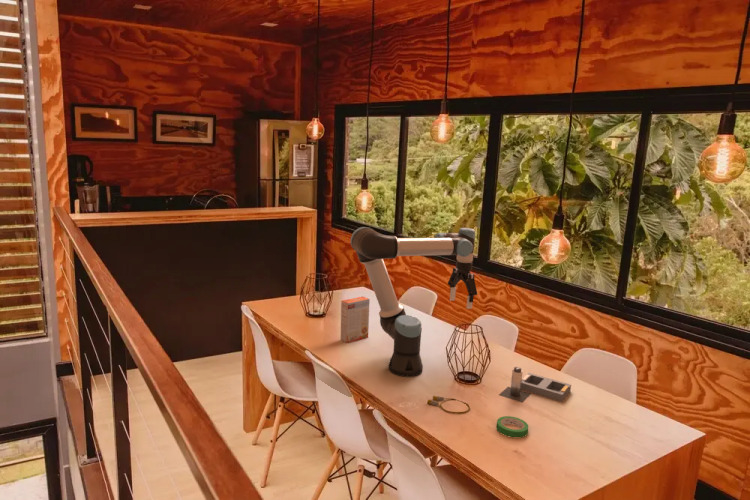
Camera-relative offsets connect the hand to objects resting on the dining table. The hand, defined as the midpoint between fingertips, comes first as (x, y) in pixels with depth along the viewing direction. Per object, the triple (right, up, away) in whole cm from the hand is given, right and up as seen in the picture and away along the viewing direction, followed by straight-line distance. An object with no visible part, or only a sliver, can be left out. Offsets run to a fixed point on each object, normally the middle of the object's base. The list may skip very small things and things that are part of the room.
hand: (460, 304), depth 264 cm
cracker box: (-51, -19, +16) cm, 57 cm away
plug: (+16, -33, -40) cm, 54 cm away
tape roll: (+8, -39, -65) cm, 76 cm away
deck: (+16, -34, -39) cm, 54 cm away
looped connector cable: (-12, -35, -49) cm, 61 cm away
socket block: (+29, -33, -34) cm, 56 cm away
